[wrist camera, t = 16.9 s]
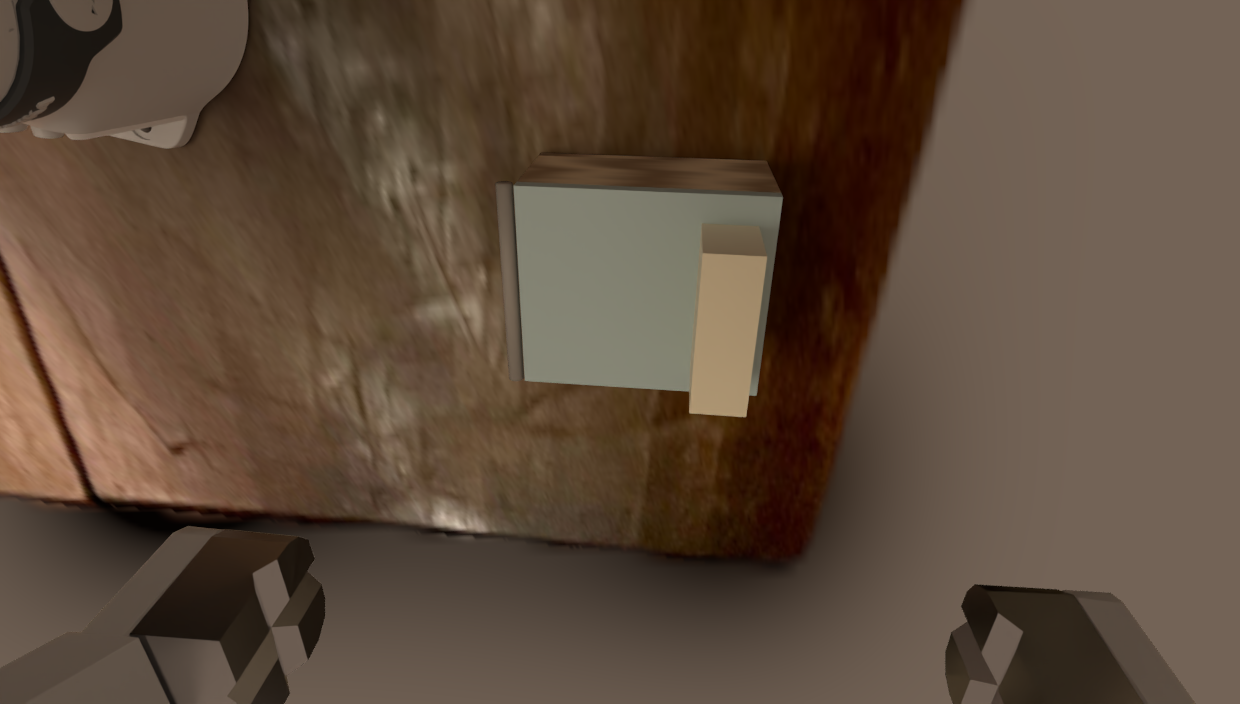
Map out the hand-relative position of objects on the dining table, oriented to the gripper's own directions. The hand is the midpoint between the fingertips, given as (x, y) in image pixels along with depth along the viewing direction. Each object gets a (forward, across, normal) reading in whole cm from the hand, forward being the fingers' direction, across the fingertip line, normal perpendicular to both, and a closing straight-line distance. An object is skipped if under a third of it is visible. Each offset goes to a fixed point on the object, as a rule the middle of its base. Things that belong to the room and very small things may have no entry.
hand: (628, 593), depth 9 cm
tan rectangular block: (+29, -4, +9) cm, 30 cm away
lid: (+30, +2, +9) cm, 31 cm away
